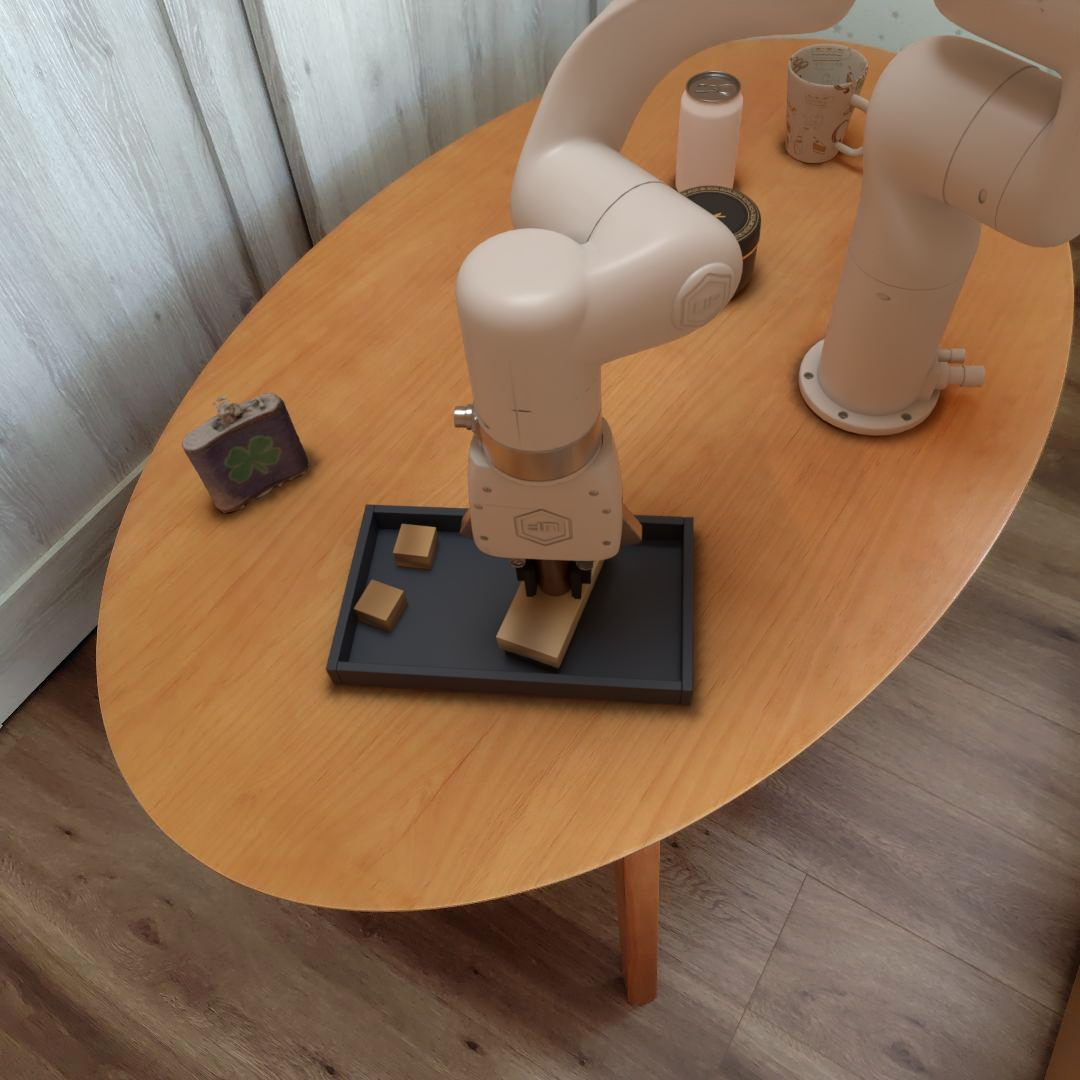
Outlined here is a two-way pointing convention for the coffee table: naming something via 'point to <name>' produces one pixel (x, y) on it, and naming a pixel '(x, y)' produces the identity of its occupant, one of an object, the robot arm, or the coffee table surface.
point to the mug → (823, 101)
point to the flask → (245, 450)
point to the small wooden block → (381, 605)
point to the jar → (732, 220)
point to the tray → (484, 599)
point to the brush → (545, 615)
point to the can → (709, 131)
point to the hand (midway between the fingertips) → (555, 580)
